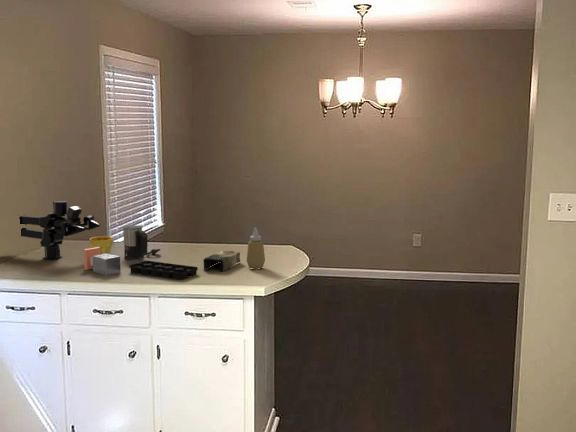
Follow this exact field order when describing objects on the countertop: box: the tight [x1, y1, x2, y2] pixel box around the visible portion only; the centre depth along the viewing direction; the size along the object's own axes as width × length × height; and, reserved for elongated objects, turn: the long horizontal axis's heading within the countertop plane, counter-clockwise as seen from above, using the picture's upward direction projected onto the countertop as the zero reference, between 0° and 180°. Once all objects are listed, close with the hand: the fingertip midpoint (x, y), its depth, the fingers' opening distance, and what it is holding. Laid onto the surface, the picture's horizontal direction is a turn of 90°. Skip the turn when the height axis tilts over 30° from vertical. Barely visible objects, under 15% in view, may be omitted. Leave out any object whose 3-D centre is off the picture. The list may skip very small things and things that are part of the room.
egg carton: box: [128, 260, 199, 281], centre depth 287 cm, size 18×30×4 cm, turn 73°
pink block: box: [83, 247, 101, 271], centre depth 293 cm, size 10×7×9 cm, turn 49°
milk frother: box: [122, 225, 161, 260], centre depth 320 cm, size 14×16×15 cm
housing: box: [92, 253, 122, 276], centre depth 289 cm, size 10×7×7 cm
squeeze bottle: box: [246, 227, 266, 269], centre depth 294 cm, size 8×8×18 cm
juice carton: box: [202, 250, 241, 272], centre depth 299 cm, size 20×10×6 cm, turn 161°
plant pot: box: [89, 235, 114, 254], centre depth 316 cm, size 10×10×10 cm
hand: (92, 227), depth 305 cm, fingers open, 9 cm apart
